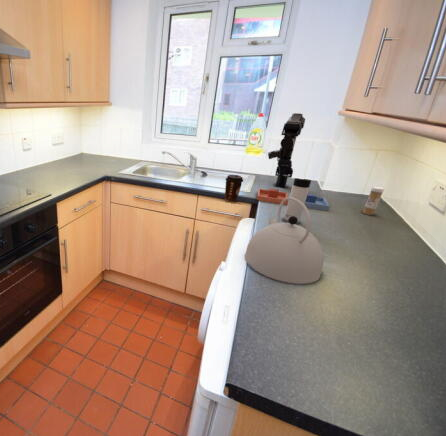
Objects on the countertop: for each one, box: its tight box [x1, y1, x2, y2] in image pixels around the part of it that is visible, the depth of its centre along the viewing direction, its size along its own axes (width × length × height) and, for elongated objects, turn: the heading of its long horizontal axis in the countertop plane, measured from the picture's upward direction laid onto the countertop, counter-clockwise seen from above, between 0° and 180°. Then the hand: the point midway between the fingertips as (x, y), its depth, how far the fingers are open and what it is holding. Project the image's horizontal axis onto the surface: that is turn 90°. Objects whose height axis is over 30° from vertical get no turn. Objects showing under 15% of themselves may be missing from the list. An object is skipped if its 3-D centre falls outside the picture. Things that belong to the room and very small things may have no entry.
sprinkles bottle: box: [362, 185, 385, 216], centre depth 142 cm, size 5×5×14 cm
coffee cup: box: [224, 174, 244, 203], centre depth 156 cm, size 9×8×13 cm
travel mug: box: [283, 177, 312, 225], centre depth 130 cm, size 6×7×20 cm
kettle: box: [244, 196, 325, 285], centre depth 96 cm, size 25×23×22 cm
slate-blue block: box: [305, 192, 318, 203], centre depth 155 cm, size 4×4×4 cm
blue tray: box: [304, 196, 330, 211], centre depth 156 cm, size 15×15×2 cm
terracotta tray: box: [256, 188, 289, 206], centre depth 162 cm, size 15×15×2 cm
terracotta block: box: [268, 187, 280, 198], centre depth 161 cm, size 4×4×4 cm
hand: (280, 175), depth 162 cm, fingers open, 9 cm apart
